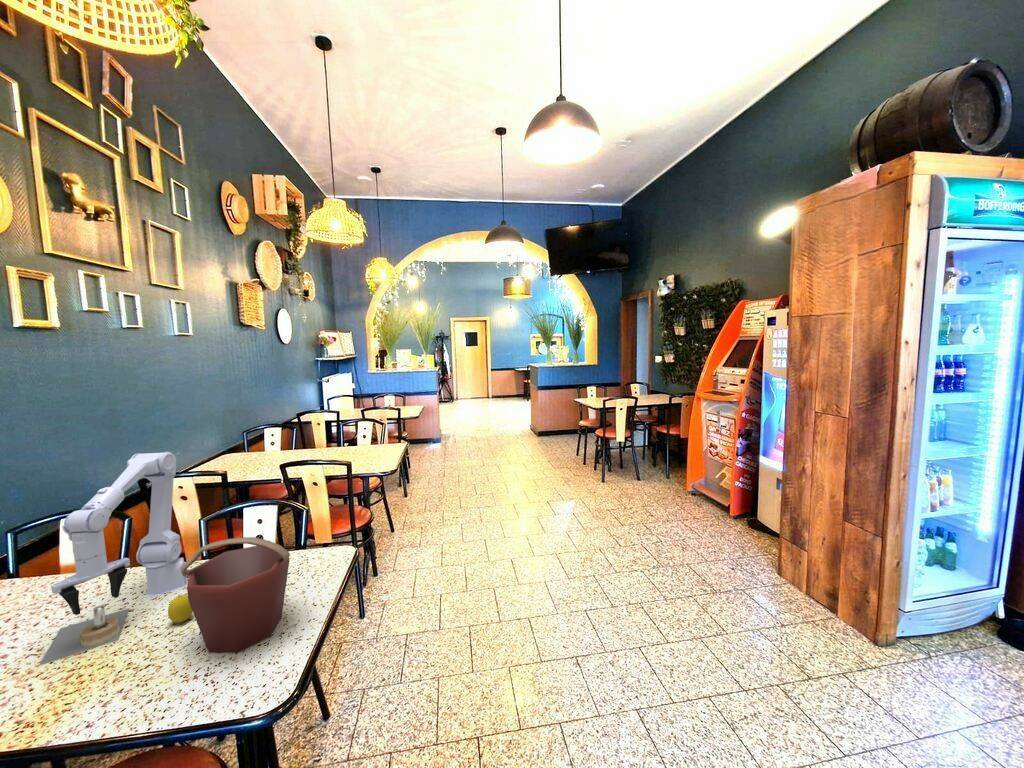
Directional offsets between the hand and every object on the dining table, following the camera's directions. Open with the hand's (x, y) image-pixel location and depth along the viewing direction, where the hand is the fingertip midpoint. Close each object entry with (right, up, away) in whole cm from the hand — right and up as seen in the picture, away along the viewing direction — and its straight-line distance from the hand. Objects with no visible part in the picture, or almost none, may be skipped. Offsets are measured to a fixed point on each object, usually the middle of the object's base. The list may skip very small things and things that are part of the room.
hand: (96, 604), depth 108 cm
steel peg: (+1, -9, 0) cm, 9 cm away
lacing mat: (-4, -9, +2) cm, 10 cm away
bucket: (+38, -8, +2) cm, 39 cm away
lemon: (+17, -9, +6) cm, 20 cm away
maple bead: (+1, -9, 0) cm, 9 cm away
